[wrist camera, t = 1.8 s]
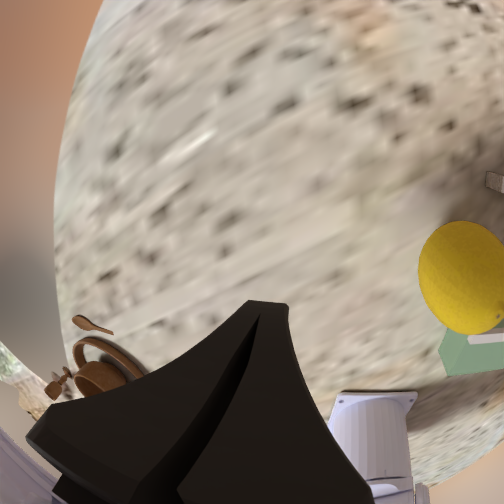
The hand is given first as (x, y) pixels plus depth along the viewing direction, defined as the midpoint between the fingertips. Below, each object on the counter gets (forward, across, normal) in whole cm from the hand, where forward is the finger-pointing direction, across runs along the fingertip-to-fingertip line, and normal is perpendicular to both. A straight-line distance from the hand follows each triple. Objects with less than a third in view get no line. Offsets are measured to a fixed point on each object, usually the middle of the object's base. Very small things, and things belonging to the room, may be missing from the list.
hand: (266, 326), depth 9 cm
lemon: (+9, -10, 0) cm, 14 cm away
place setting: (+10, +24, +19) cm, 33 cm away
